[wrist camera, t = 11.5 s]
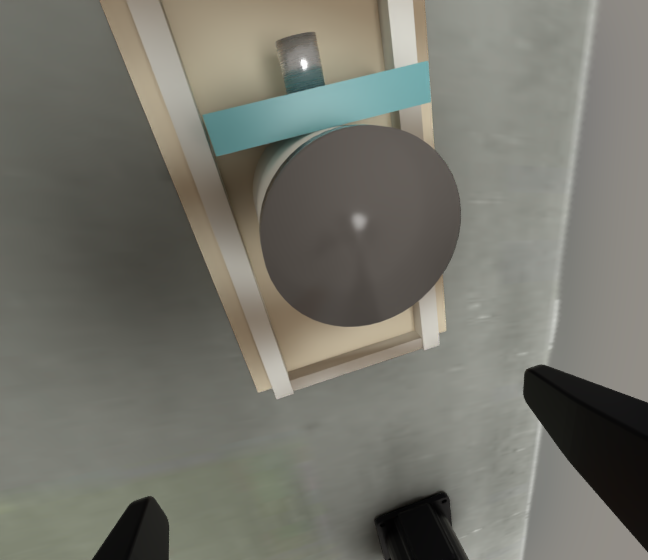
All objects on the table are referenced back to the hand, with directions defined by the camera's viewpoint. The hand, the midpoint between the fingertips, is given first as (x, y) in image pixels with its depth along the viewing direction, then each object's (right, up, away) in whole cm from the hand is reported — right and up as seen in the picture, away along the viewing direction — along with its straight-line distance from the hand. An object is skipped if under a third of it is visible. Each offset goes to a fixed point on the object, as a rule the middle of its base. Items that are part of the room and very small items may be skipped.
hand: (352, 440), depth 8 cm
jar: (-1, +8, +9) cm, 12 cm away
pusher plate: (-2, +12, +6) cm, 13 cm away
